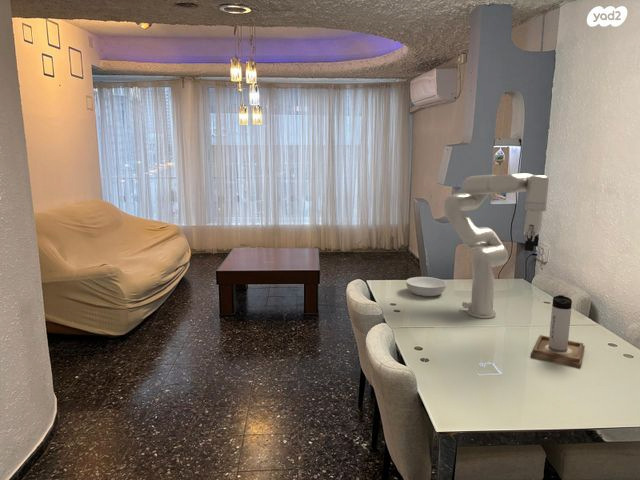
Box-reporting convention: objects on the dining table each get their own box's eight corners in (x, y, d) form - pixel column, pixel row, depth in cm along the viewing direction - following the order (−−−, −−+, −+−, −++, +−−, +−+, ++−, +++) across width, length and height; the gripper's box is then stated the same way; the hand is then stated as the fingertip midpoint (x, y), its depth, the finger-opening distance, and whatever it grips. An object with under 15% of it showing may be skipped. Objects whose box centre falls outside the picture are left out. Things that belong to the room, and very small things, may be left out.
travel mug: (565, 346, 174) (570, 295, 170) (568, 353, 168) (573, 301, 164) (547, 344, 176) (551, 294, 172) (549, 351, 170) (554, 299, 166)
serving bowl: (450, 300, 234) (451, 287, 233) (409, 300, 235) (409, 287, 233) (440, 288, 255) (441, 276, 253) (402, 288, 255) (403, 276, 254)
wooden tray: (530, 357, 169) (531, 350, 168) (538, 340, 183) (538, 333, 183) (580, 367, 160) (581, 360, 160) (584, 349, 175) (585, 342, 174)
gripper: (529, 203, 192) (525, 243, 196) (521, 208, 178) (516, 251, 182) (549, 204, 188) (544, 245, 192) (542, 210, 174) (537, 253, 178)
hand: (531, 248), depth 187 cm, fingers open, 9 cm apart
